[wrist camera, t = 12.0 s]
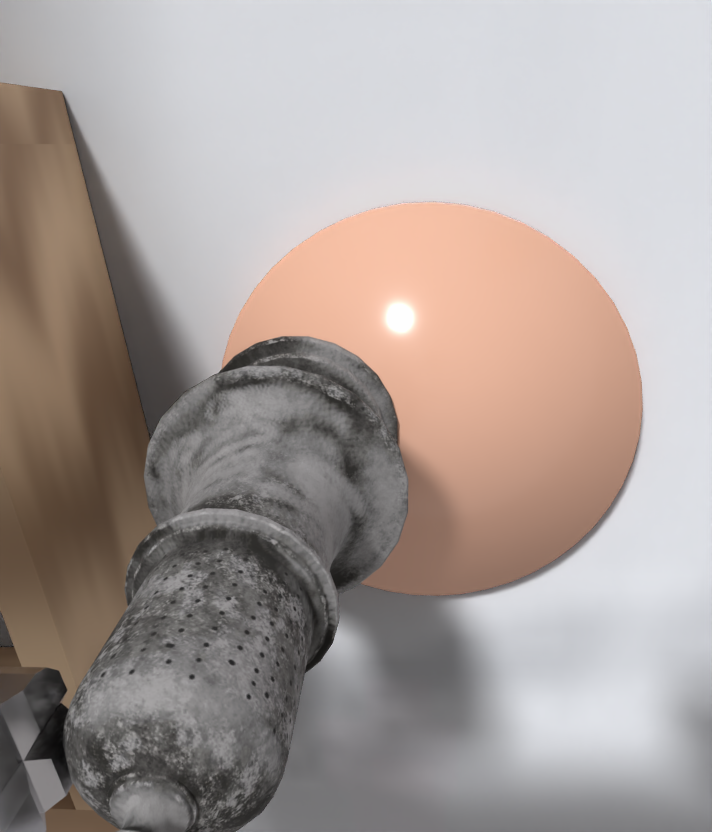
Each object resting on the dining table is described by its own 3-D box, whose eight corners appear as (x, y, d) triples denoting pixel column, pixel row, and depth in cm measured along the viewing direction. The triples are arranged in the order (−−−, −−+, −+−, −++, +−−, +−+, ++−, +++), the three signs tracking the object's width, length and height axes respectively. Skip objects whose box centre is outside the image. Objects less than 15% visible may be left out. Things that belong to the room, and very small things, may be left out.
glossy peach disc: (189, 228, 17) (180, 230, 16) (643, 174, 15) (651, 176, 15) (262, 586, 21) (257, 599, 20) (630, 579, 19) (635, 592, 19)
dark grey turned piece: (270, 276, 16) (-28, 543, 5) (455, 414, 17) (534, 882, 6) (153, 447, 18) (-239, 899, 7) (325, 561, 19) (211, 1115, 8)
